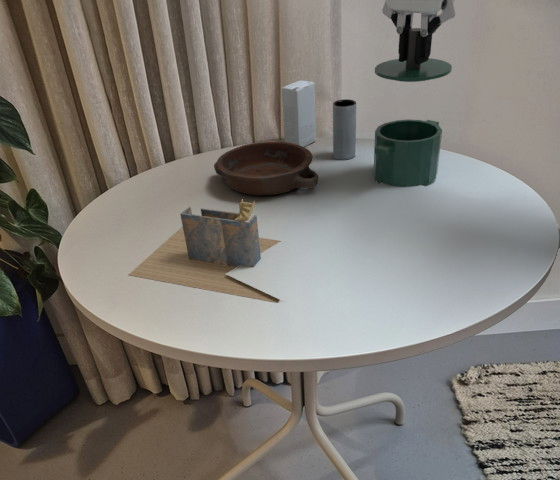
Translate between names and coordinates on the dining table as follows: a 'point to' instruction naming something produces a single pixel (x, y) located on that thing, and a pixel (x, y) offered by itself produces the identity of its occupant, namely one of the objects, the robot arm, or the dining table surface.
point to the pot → (407, 152)
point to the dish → (267, 168)
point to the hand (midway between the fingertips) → (413, 60)
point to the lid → (412, 65)
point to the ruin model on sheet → (210, 252)
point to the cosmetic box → (299, 113)
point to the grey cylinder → (344, 129)
